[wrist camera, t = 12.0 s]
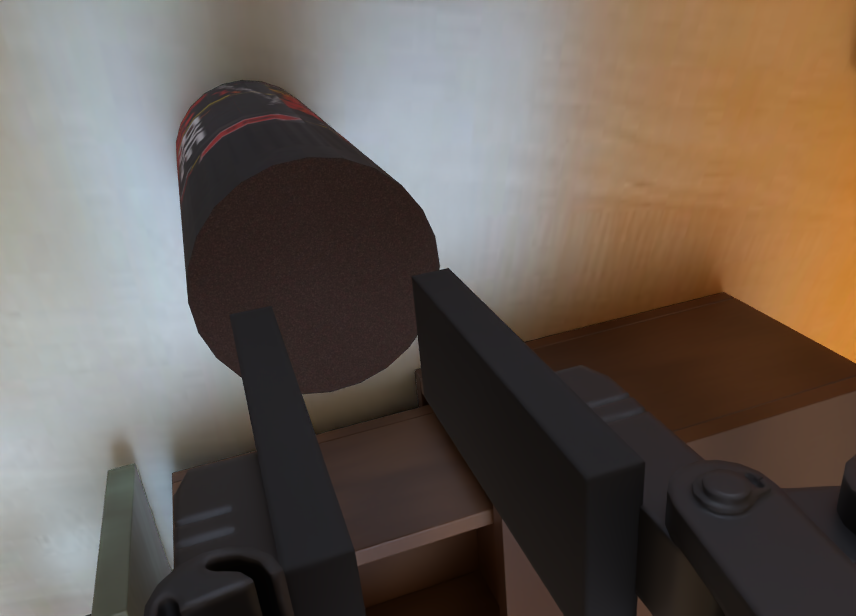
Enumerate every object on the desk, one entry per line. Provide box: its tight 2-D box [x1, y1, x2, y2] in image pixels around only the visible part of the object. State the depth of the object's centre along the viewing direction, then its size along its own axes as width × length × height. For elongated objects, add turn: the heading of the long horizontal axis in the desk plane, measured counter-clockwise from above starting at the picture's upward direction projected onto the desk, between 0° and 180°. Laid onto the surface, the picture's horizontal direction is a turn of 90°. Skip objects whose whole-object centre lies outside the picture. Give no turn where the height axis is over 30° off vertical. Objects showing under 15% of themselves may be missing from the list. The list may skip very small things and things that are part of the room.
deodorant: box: [176, 80, 440, 394], centre depth 23 cm, size 6×6×15 cm
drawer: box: [86, 405, 500, 616], centre depth 33 cm, size 23×14×9 cm, turn 96°
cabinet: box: [415, 292, 856, 616], centre depth 37 cm, size 19×15×11 cm
